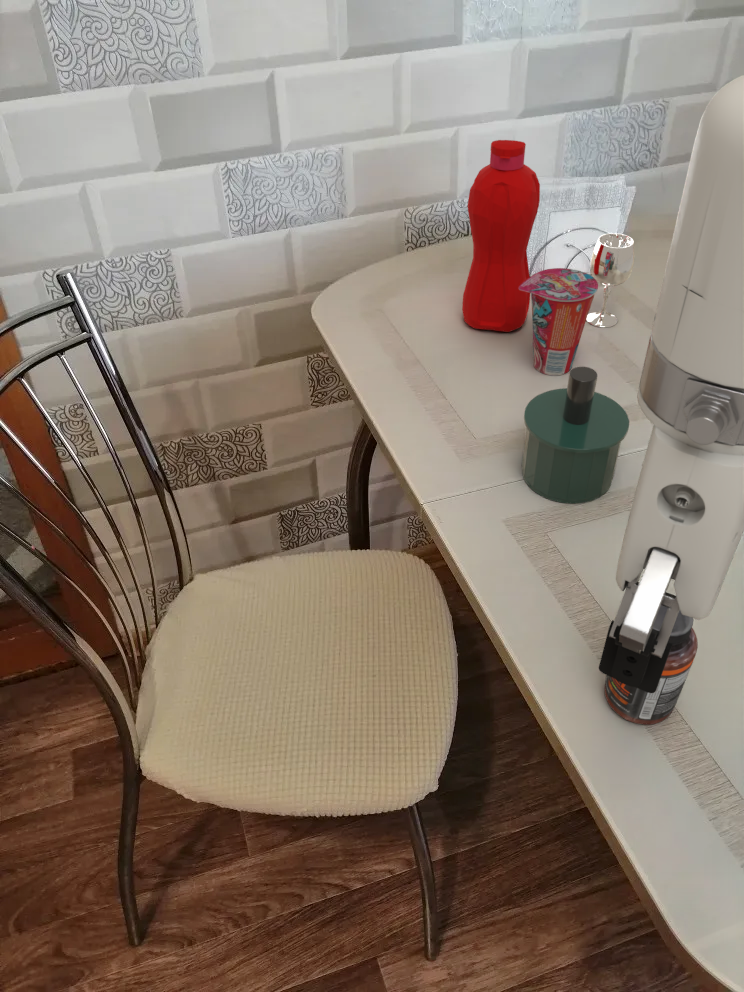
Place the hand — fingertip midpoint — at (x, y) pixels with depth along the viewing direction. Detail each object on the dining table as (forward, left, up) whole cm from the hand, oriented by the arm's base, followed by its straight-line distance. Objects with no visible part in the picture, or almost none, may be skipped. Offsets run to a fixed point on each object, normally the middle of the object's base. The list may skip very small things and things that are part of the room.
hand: (652, 619), depth 47 cm
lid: (+16, -35, -14) cm, 41 cm away
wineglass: (+24, -70, -22) cm, 77 cm away
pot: (+16, -35, -22) cm, 44 cm away
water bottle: (+38, -64, -22) cm, 78 cm away
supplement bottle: (0, -10, -22) cm, 24 cm away
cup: (+26, -55, -22) cm, 65 cm away
